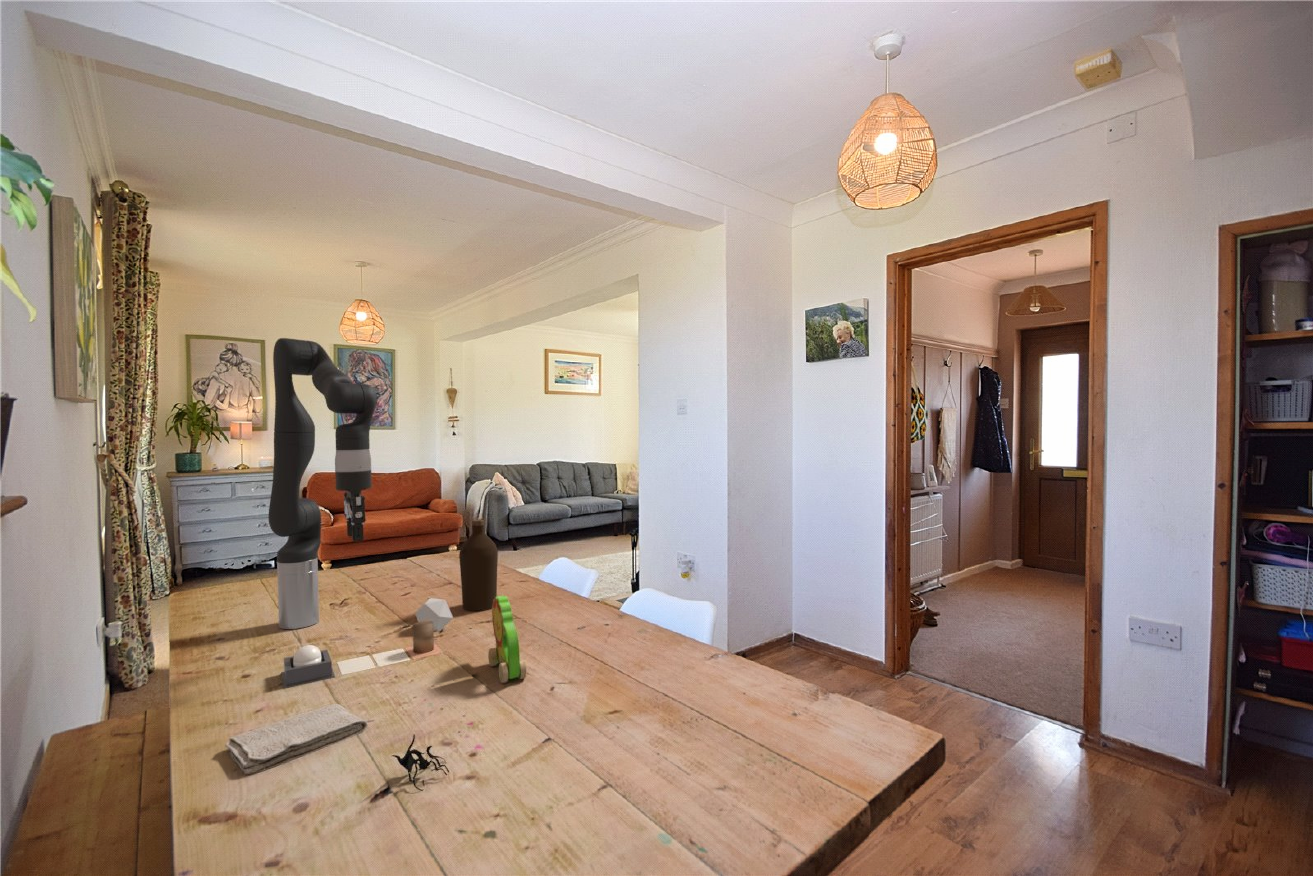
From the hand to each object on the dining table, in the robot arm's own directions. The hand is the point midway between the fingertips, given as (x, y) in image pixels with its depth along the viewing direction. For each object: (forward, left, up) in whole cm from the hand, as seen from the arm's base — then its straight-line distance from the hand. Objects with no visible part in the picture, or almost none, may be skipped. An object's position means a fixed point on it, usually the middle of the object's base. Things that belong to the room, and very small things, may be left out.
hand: (355, 538), depth 139 cm
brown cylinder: (+12, +12, -25) cm, 30 cm away
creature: (+62, 0, -26) cm, 68 cm away
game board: (+12, +5, -26) cm, 29 cm away
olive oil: (-16, +34, -26) cm, 46 cm away
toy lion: (+32, +24, -26) cm, 48 cm away
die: (-3, +18, -26) cm, 32 cm away
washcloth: (+39, -14, -27) cm, 50 cm away
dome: (+12, -11, -25) cm, 30 cm away
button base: (+12, -11, -26) cm, 31 cm away
